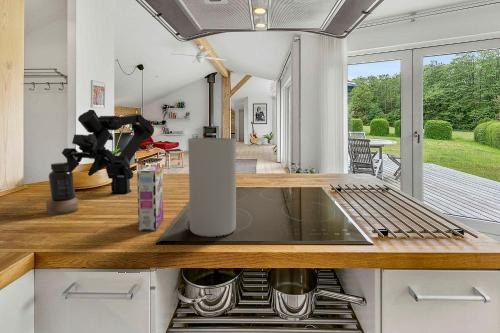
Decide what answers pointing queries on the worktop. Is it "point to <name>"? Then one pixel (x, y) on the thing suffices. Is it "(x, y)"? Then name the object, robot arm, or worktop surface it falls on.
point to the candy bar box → (150, 198)
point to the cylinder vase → (212, 186)
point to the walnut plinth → (62, 206)
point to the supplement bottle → (61, 182)
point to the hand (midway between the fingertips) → (77, 174)
